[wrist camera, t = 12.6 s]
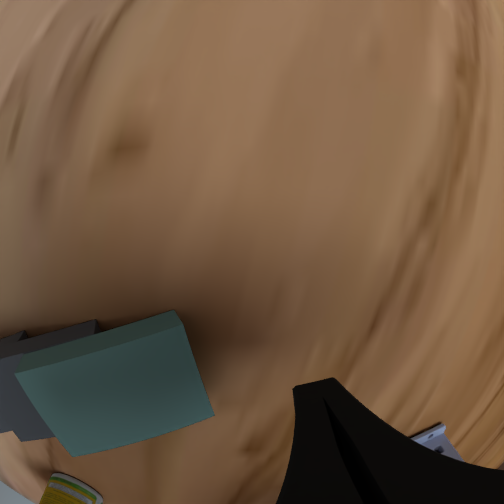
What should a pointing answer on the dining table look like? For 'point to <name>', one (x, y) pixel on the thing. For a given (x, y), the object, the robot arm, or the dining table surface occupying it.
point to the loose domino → (117, 385)
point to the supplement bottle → (69, 491)
